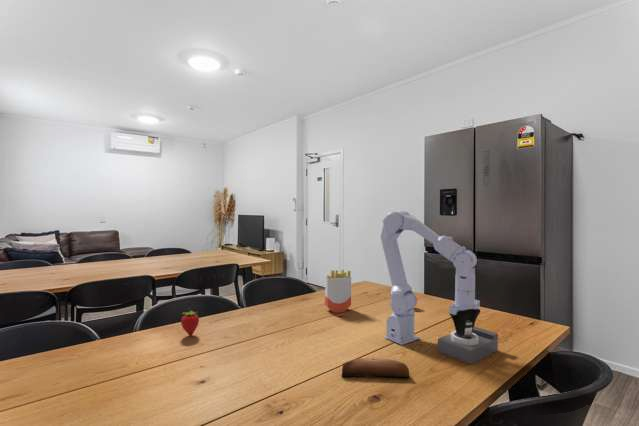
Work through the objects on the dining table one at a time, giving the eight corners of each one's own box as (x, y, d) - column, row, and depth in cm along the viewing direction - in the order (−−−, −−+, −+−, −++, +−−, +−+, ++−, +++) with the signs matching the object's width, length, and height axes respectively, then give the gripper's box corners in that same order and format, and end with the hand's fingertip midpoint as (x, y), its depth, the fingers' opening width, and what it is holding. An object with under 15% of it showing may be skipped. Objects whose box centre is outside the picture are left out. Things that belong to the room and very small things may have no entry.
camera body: (471, 364, 98) (471, 345, 98) (437, 351, 107) (437, 334, 106) (497, 350, 107) (497, 333, 107) (465, 339, 116) (465, 323, 116)
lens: (466, 341, 103) (466, 325, 103) (453, 336, 106) (453, 321, 106) (475, 338, 105) (475, 322, 105) (462, 333, 109) (462, 318, 109)
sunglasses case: (403, 364, 98) (405, 349, 94) (407, 387, 92) (410, 372, 88) (340, 363, 98) (340, 348, 95) (341, 386, 92) (341, 371, 89)
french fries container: (324, 309, 150) (324, 269, 149) (347, 307, 153) (347, 268, 152) (327, 312, 145) (327, 271, 145) (351, 310, 148) (351, 269, 148)
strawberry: (180, 340, 114) (180, 311, 114) (181, 332, 121) (181, 305, 121) (198, 338, 116) (198, 309, 116) (199, 331, 123) (199, 303, 123)
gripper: (464, 296, 98) (464, 342, 98) (489, 288, 107) (488, 331, 107) (442, 291, 104) (442, 335, 104) (468, 284, 112) (467, 325, 112)
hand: (464, 332), depth 106 cm, fingers closed on lens, 4 cm apart
